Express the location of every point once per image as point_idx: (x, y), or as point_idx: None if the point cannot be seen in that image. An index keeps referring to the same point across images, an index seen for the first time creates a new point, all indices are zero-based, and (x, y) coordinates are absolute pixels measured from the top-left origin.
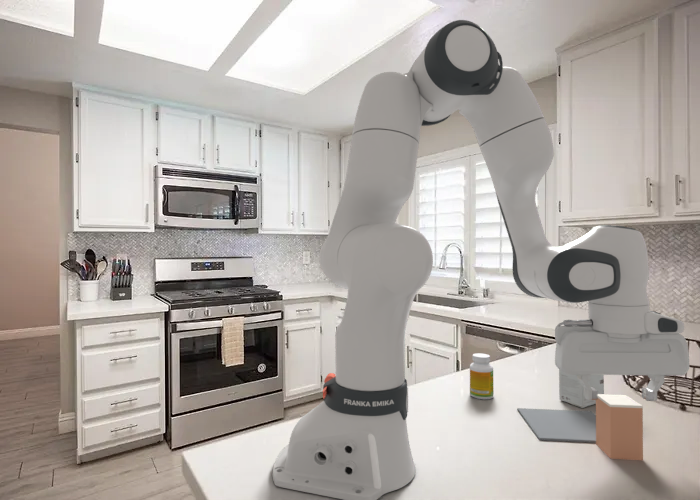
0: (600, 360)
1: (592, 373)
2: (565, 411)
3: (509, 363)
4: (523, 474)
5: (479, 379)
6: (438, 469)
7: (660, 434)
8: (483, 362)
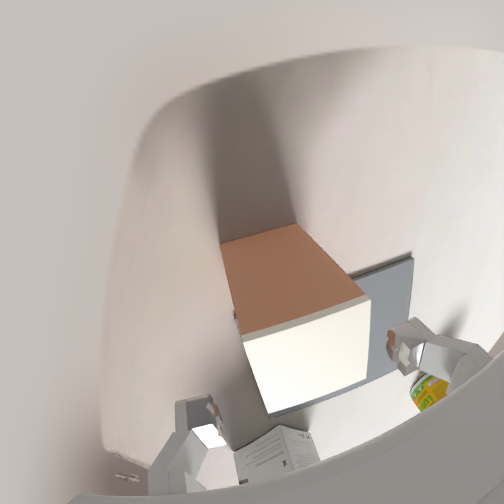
0: (498, 435)
1: (485, 371)
2: (320, 398)
3: None
4: (455, 104)
5: None
6: None
7: (155, 382)
8: None
